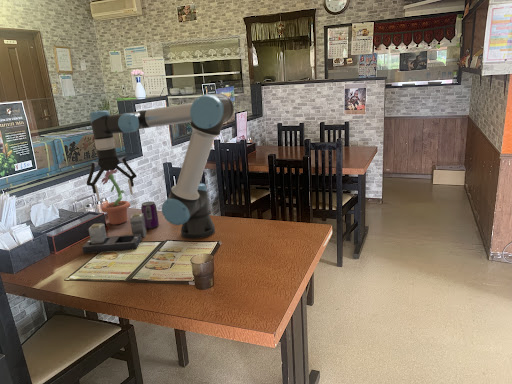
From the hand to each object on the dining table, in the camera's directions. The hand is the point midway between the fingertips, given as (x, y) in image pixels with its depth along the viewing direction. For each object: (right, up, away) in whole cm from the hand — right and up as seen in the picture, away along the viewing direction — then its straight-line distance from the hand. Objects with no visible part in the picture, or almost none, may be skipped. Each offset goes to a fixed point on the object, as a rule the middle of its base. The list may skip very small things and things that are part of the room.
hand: (115, 197), depth 169 cm
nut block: (+7, -18, +11) cm, 22 cm away
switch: (-1, -21, 0) cm, 21 cm away
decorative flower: (-10, -13, +33) cm, 37 cm away
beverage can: (+10, -15, +22) cm, 28 cm away
